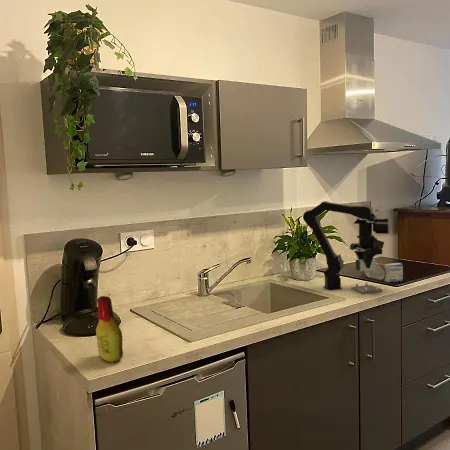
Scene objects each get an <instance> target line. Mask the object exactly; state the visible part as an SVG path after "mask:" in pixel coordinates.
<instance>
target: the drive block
mask: <svg viewBox="0 0 450 450" xmlns="http://www.w3.org/2000/svg"><path fill="white" fill-rule="evenodd" d="M376 262H377V259H375V258H374V257H373V260H372V263H371V266H370V268H367V266H366V263H365V260H364V258H361V259H358V258H357V259H355V270H356V271H358V272H364V271H368V270H376Z"/></svg>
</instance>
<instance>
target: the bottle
mask: <svg viewBox="0 0 450 450" xmlns="http://www.w3.org/2000/svg"><path fill="white" fill-rule="evenodd" d="M111 299H112V298H110V296H107V295H101V296H99V297H98V298H97V299H96V302H97V313H98V315H97V317H98V323H97V326H96V329H95V333H96V334H95V335H96V345H97V347H96V348H97V349H98V350H97V352H98V355H99V357H100V358H101V359H102V360H104V361H105V360H106V361H105V362H108V361H109V363H115V362H114V361H116V362H118V361H120V360H121V359H122V358H123V357H124V351H123V350H124V349H123V341H124V340H123V332H122V330H121V328H120V326H119V324H118V322H116V321H115V317H114V310H113V304H112V300H111ZM119 359H120V360H119ZM117 360H118V361H117Z"/></svg>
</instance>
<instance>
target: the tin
mask: <svg viewBox="0 0 450 450" xmlns="http://www.w3.org/2000/svg"><path fill="white" fill-rule="evenodd" d="M363 272H364V274H365V276H366V277H367V278H369V279H371V280H376V281H381V282H382V281H383V282H384V279H385V277H386V271H385V268H384V263H380V262H377V261H376V270H368V271H363Z"/></svg>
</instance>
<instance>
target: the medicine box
mask: <svg viewBox="0 0 450 450" xmlns="http://www.w3.org/2000/svg"><path fill="white" fill-rule="evenodd" d="M383 264H384V263H383ZM384 268H385V271H386V277H385V279H384V280H383V282H385V283H388V282H389V283H388V284H390V282H393V283H399V281H400V282H403V281H404V270H403V268H404V267H403V263H401V262H393V263H385V264H384Z"/></svg>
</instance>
